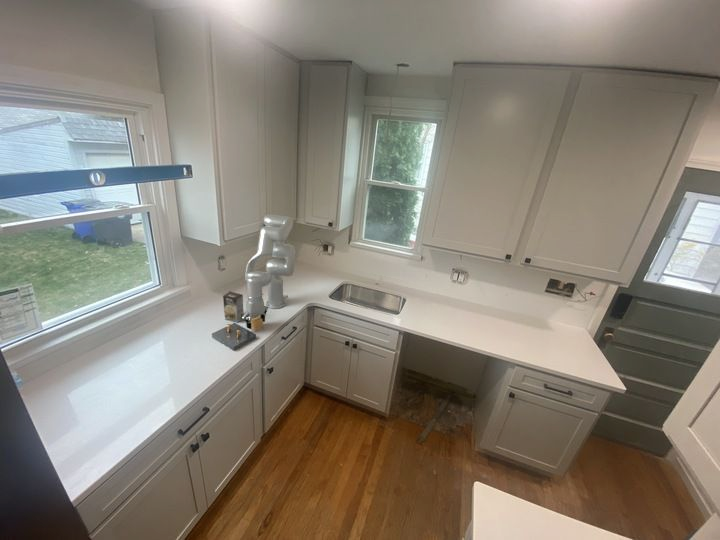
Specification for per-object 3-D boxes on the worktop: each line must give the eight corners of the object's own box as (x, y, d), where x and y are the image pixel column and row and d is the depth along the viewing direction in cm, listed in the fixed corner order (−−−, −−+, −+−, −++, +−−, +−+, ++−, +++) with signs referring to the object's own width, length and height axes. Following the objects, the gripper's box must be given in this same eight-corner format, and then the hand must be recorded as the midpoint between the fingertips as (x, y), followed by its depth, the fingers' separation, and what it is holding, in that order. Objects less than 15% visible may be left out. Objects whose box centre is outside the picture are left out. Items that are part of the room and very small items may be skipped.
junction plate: (234, 326, 167) (234, 316, 165) (256, 338, 159) (255, 328, 156) (212, 337, 156) (210, 327, 153) (233, 350, 147) (232, 340, 145)
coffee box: (224, 319, 172) (222, 295, 167) (231, 314, 178) (229, 291, 172) (237, 323, 170) (235, 298, 165) (244, 317, 176) (243, 294, 170)
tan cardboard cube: (257, 324, 171) (256, 316, 169) (263, 327, 169) (262, 319, 167) (250, 327, 167) (249, 319, 165) (256, 330, 165) (255, 322, 163)
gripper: (262, 291, 170) (263, 316, 176) (237, 301, 156) (238, 328, 162) (271, 294, 166) (272, 320, 172) (246, 305, 152) (247, 333, 158)
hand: (256, 324), depth 167 cm, fingers open, 9 cm apart
